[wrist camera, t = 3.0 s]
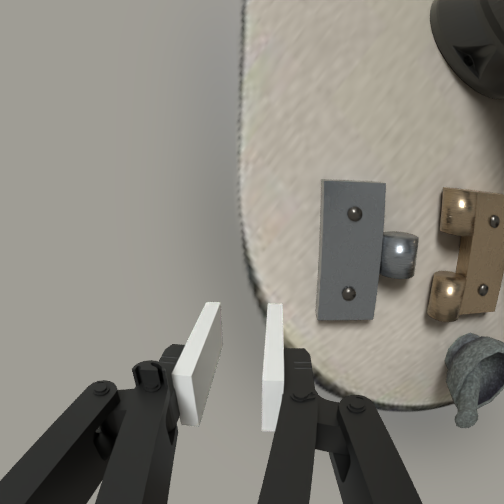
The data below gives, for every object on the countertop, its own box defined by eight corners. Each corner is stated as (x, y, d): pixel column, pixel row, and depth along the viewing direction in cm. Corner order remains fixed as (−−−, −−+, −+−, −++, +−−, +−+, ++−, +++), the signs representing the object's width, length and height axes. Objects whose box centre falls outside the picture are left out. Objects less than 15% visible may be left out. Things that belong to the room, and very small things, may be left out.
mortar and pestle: (492, 312, 33) (543, 357, 22) (487, 365, 35) (527, 414, 24) (423, 340, 35) (464, 399, 23) (423, 393, 37) (454, 452, 25)
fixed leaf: (436, 186, 30) (454, 190, 26) (501, 193, 29) (521, 198, 25) (422, 307, 34) (435, 323, 30) (484, 303, 33) (500, 316, 29)
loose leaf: (320, 179, 31) (326, 181, 27) (413, 184, 30) (429, 187, 26) (315, 309, 35) (318, 327, 31) (400, 308, 34) (411, 324, 30)
